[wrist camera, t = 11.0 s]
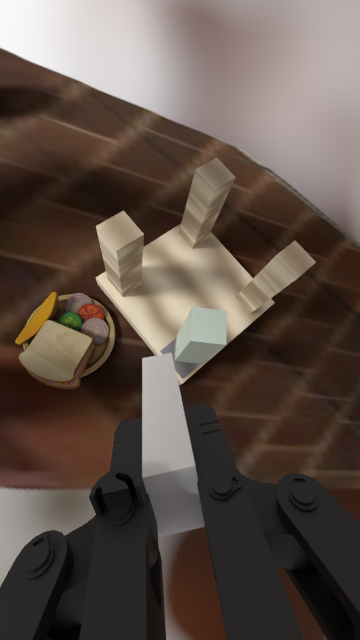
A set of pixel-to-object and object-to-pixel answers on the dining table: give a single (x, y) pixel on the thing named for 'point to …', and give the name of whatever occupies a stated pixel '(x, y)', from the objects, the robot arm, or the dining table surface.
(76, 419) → the dining table surface
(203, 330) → the hinged leg
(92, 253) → the dining table surface
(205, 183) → the stool
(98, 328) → the toy sandwich meal
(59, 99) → the dining table surface
